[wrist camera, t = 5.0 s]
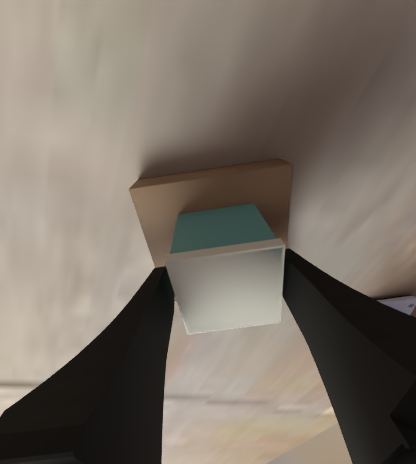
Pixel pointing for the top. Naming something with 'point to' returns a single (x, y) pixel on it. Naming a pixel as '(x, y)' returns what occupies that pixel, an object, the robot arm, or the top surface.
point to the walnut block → (211, 199)
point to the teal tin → (226, 269)
